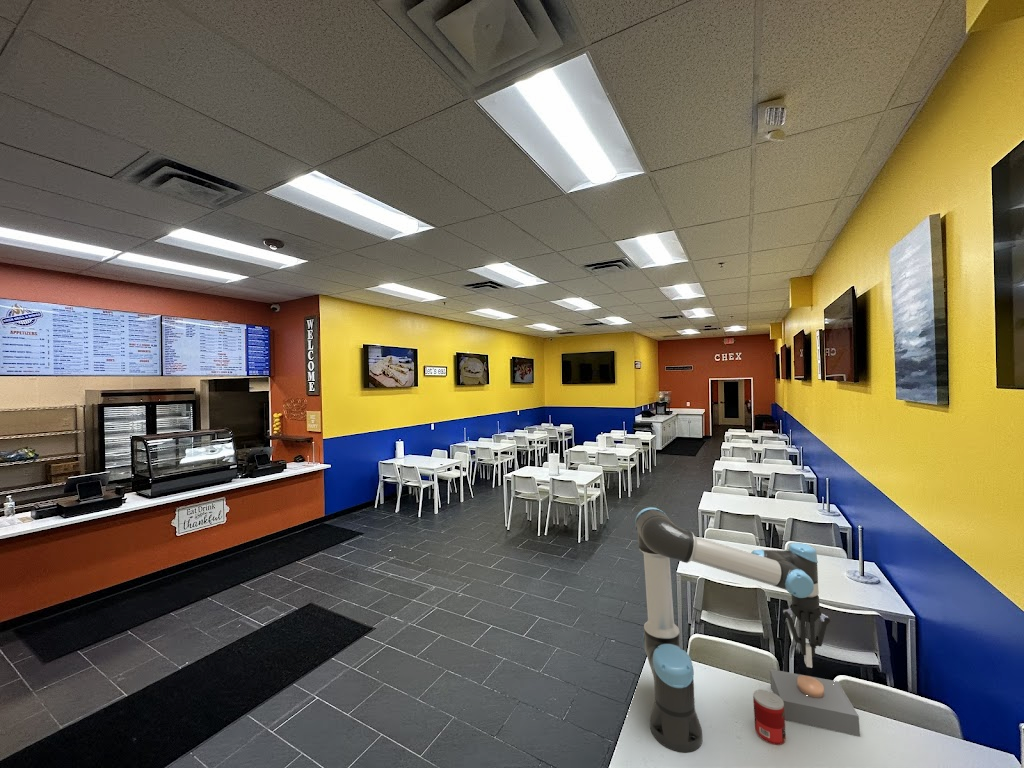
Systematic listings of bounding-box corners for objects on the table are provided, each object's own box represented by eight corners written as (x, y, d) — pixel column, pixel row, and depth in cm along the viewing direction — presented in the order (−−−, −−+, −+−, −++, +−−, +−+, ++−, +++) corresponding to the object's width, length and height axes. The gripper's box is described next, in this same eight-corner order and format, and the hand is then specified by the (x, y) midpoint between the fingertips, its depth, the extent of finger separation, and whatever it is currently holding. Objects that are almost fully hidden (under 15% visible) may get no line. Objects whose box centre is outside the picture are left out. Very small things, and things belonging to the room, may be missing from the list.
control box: (782, 719, 130) (781, 700, 130) (770, 686, 144) (769, 669, 145) (860, 736, 122) (858, 716, 123) (839, 699, 137) (838, 681, 137)
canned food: (790, 747, 119) (788, 709, 120) (760, 743, 121) (758, 705, 121) (779, 726, 127) (777, 690, 127) (751, 723, 128) (749, 687, 129)
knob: (802, 712, 131) (800, 687, 132) (795, 697, 138) (794, 673, 138) (828, 717, 129) (826, 692, 129) (820, 702, 135) (819, 678, 136)
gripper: (784, 594, 134) (788, 667, 133) (832, 600, 129) (836, 676, 128) (779, 584, 141) (782, 654, 140) (824, 590, 136) (828, 662, 135)
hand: (808, 664), depth 134 cm, fingers closed
